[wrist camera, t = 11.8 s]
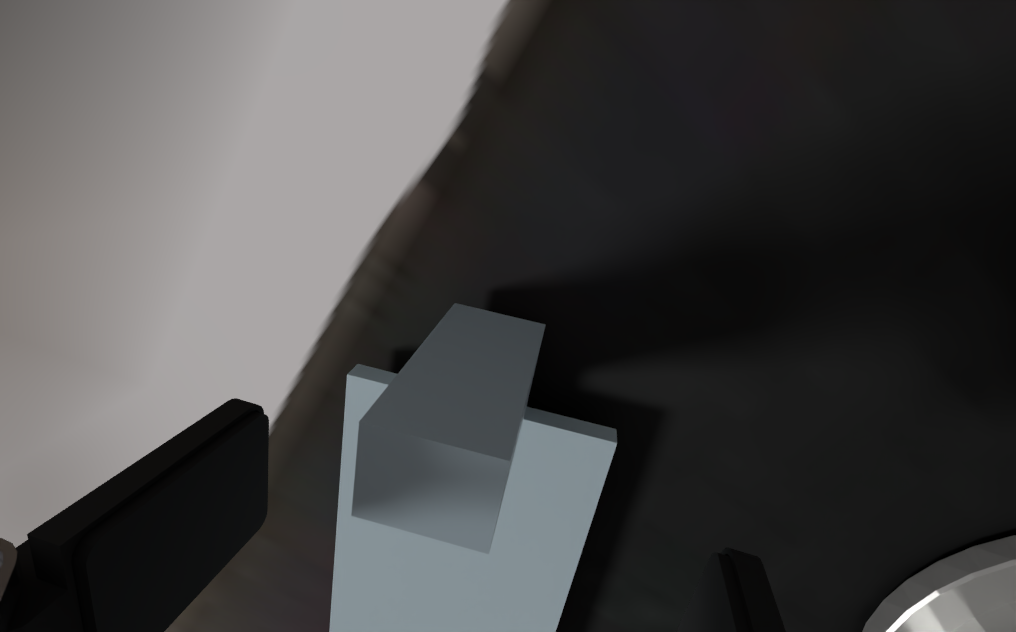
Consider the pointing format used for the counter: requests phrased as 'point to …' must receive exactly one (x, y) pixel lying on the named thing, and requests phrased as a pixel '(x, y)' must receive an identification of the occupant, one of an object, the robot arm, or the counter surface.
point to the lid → (461, 487)
